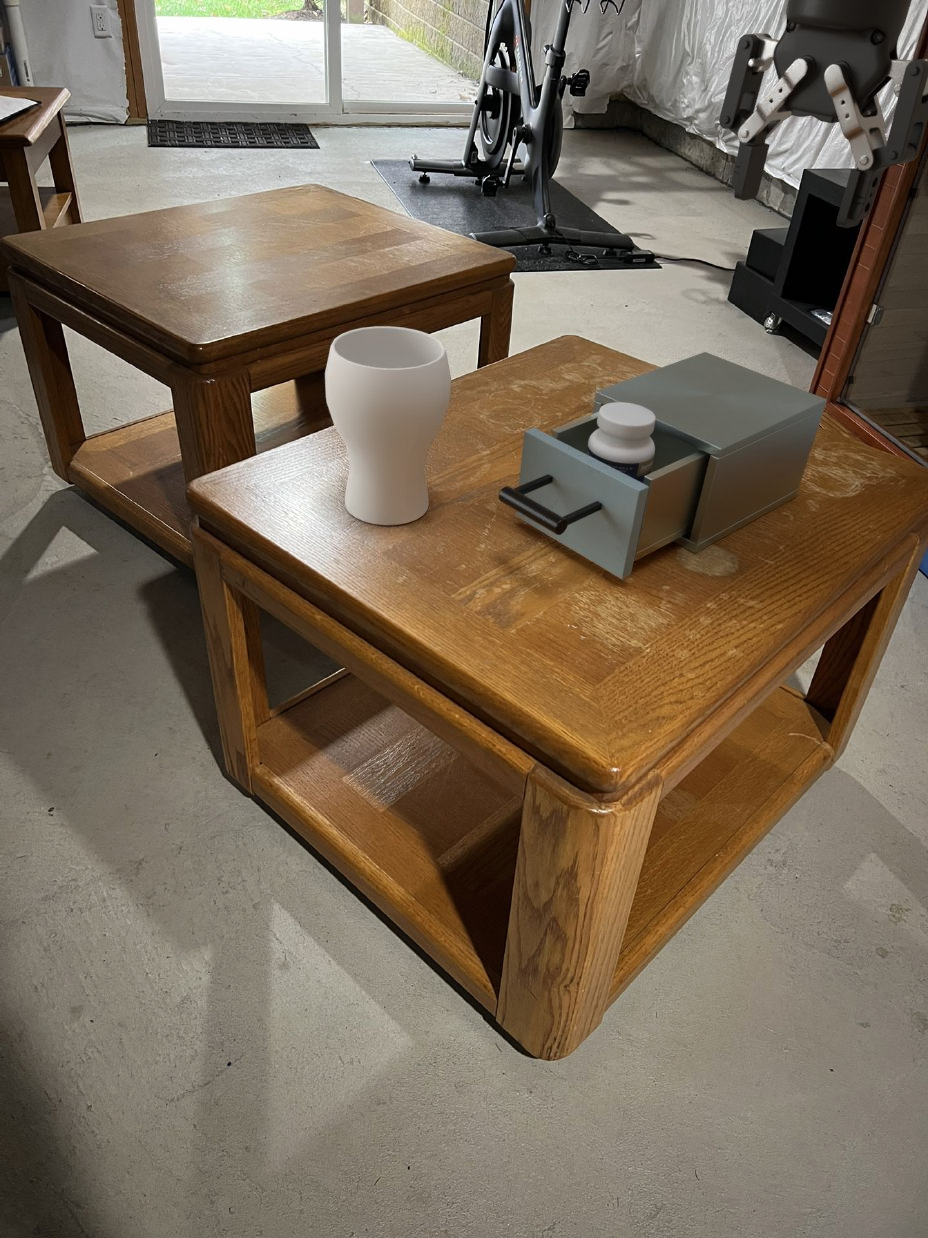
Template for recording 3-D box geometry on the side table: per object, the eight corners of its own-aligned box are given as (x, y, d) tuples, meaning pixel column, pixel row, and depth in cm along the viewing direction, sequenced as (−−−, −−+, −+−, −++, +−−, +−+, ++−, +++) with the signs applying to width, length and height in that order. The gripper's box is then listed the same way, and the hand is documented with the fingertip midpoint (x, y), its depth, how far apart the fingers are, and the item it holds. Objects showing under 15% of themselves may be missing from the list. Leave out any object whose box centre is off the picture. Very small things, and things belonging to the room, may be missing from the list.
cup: (426, 471, 92) (432, 320, 83) (458, 527, 84) (469, 367, 75) (319, 481, 89) (313, 326, 80) (341, 541, 81) (337, 376, 72)
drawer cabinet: (695, 553, 83) (721, 448, 77) (579, 490, 91) (595, 390, 84) (796, 496, 92) (827, 399, 86) (684, 444, 100) (705, 351, 94)
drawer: (575, 604, 74) (591, 513, 69) (468, 536, 81) (475, 448, 76) (730, 520, 86) (753, 437, 81) (625, 466, 93) (640, 387, 88)
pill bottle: (639, 538, 80) (661, 432, 74) (573, 528, 81) (590, 422, 75) (641, 505, 85) (662, 403, 79) (578, 496, 85) (594, 394, 79)
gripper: (1003, -53, 56) (909, 228, 66) (798, -69, 64) (741, 184, 74) (948, -57, 52) (856, 244, 62) (735, -73, 60) (684, 195, 70)
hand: (794, 211), depth 68 cm, fingers open, 8 cm apart
